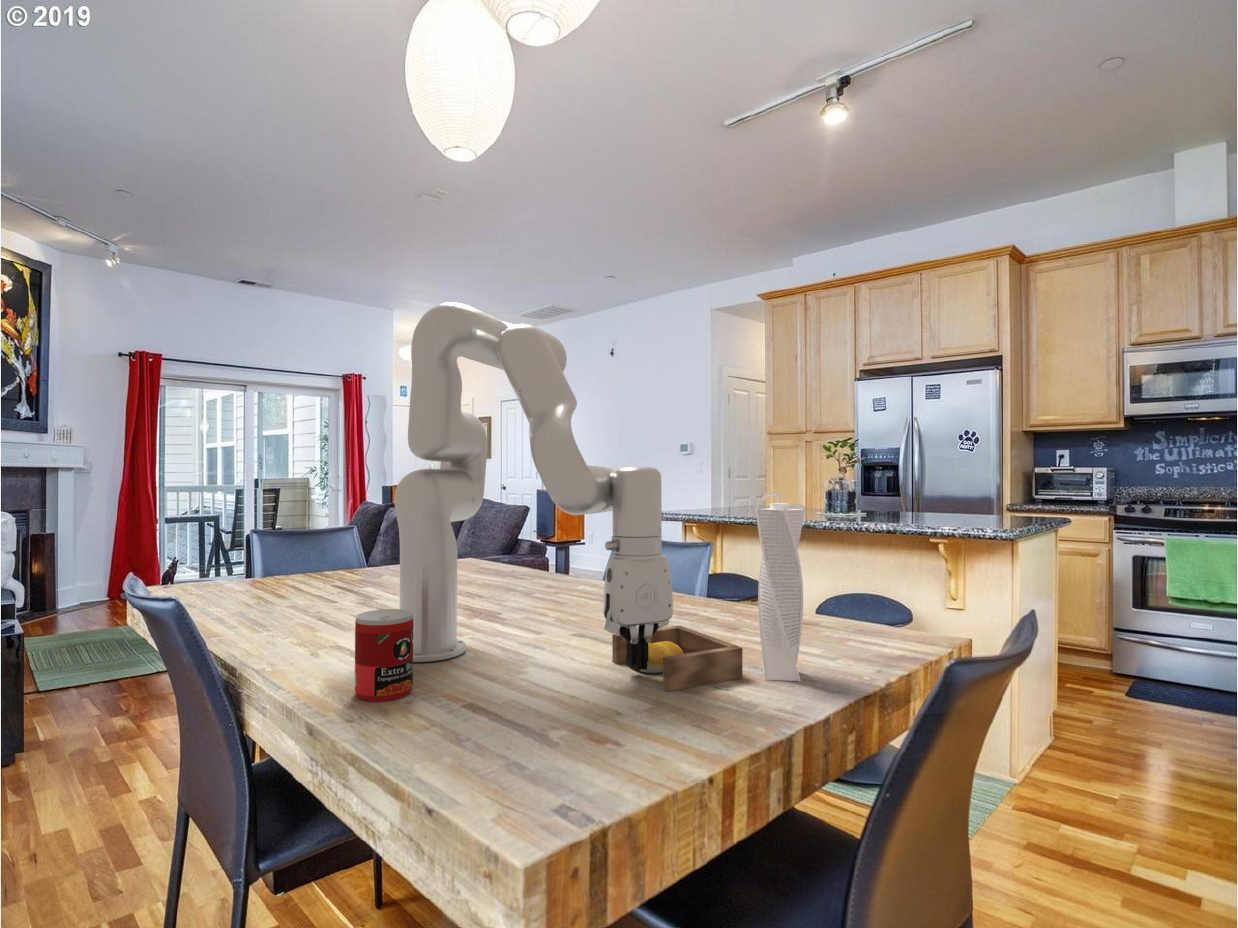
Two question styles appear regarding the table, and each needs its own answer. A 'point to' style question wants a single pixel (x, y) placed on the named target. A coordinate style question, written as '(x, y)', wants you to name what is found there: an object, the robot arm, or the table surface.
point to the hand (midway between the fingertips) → (637, 667)
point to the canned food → (383, 654)
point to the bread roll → (660, 655)
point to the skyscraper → (780, 588)
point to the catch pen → (690, 658)
